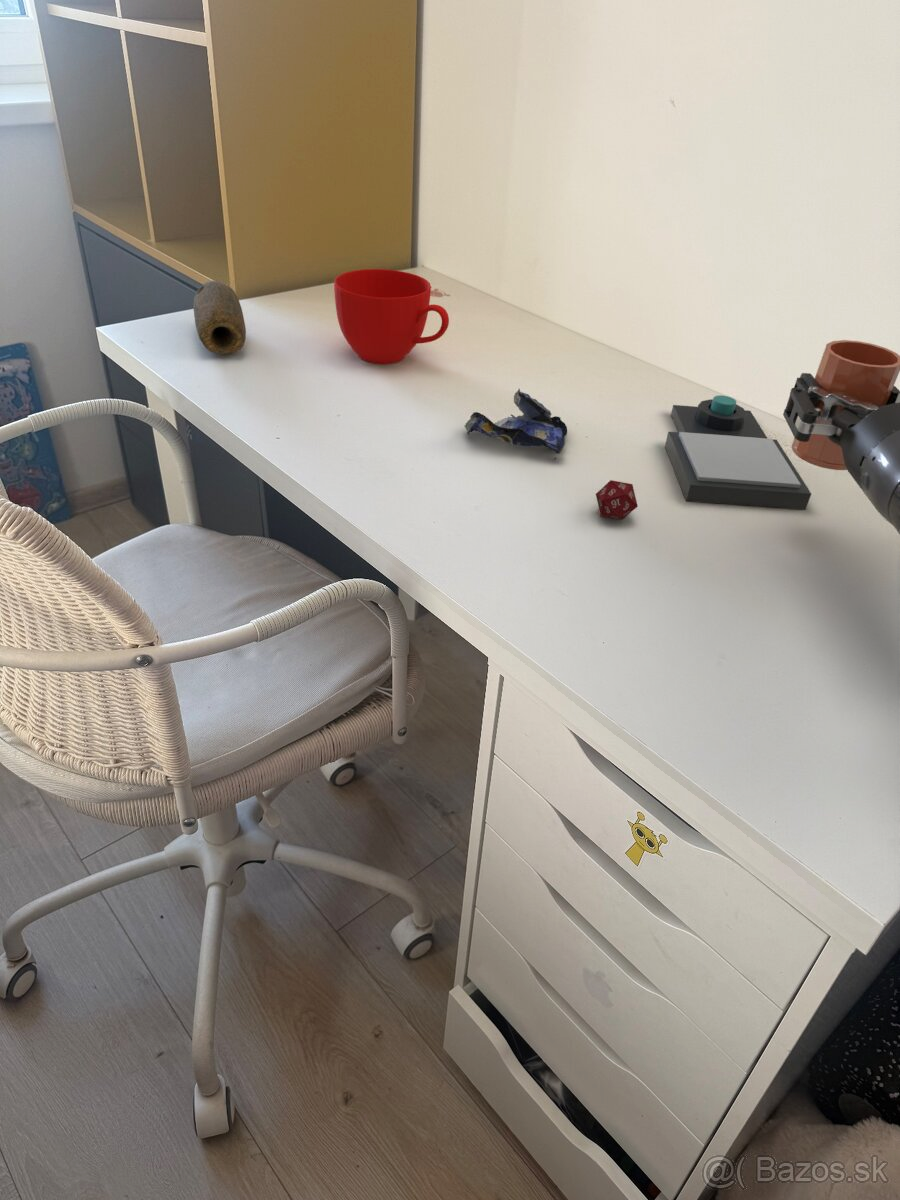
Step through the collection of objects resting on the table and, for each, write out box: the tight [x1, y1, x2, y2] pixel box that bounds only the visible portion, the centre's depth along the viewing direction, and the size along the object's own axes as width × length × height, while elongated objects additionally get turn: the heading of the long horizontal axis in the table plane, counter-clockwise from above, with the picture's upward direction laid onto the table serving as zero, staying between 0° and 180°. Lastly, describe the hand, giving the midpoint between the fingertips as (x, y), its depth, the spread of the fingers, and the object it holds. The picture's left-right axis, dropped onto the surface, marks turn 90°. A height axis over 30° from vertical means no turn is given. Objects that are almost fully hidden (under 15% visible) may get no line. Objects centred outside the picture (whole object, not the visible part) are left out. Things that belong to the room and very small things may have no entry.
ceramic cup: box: [333, 268, 450, 365], centre depth 113 cm, size 13×17×10 cm
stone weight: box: [192, 280, 247, 355], centre depth 115 cm, size 15×7×7 cm, turn 20°
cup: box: [791, 339, 900, 471], centre depth 77 cm, size 6×6×10 cm
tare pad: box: [670, 398, 768, 439], centre depth 103 cm, size 10×8×3 cm
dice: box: [595, 479, 639, 521], centre depth 84 cm, size 4×4×4 cm
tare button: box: [710, 394, 737, 415], centre depth 102 cm, size 3×3×2 cm
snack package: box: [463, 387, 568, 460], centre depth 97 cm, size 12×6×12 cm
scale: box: [664, 431, 812, 510], centre depth 94 cm, size 13×13×2 cm
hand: (839, 385), depth 78 cm, fingers closed on cup, 6 cm apart
